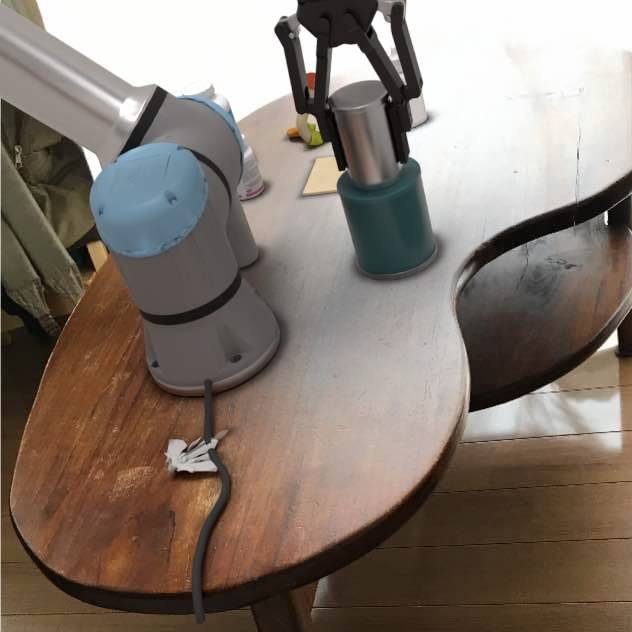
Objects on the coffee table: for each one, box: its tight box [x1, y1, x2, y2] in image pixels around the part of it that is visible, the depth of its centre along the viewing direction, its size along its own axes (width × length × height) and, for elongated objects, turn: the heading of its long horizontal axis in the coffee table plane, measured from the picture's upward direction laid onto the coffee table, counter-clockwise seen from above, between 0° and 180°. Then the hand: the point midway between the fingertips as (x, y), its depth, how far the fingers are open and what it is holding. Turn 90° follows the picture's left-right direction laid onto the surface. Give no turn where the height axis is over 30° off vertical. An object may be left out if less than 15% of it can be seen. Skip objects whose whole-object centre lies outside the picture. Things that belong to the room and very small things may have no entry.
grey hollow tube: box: [226, 191, 260, 269], centre depth 111 cm, size 4×4×10 cm
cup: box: [328, 79, 406, 191], centre depth 97 cm, size 7×7×10 cm
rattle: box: [285, 71, 329, 146], centre depth 133 cm, size 8×8×12 cm
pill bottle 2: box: [236, 133, 265, 201], centre depth 125 cm, size 5×5×8 cm
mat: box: [302, 155, 347, 197], centre depth 125 cm, size 10×10×1 cm
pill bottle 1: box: [181, 79, 237, 124], centre depth 131 cm, size 8×7×14 cm
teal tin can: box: [337, 156, 439, 281], centre depth 103 cm, size 10×10×11 cm
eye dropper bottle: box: [388, 45, 428, 129], centre depth 129 cm, size 4×6×12 cm
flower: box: [164, 429, 229, 476], centre depth 87 cm, size 8×8×3 cm
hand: (374, 161), depth 98 cm, fingers closed on cup, 6 cm apart
